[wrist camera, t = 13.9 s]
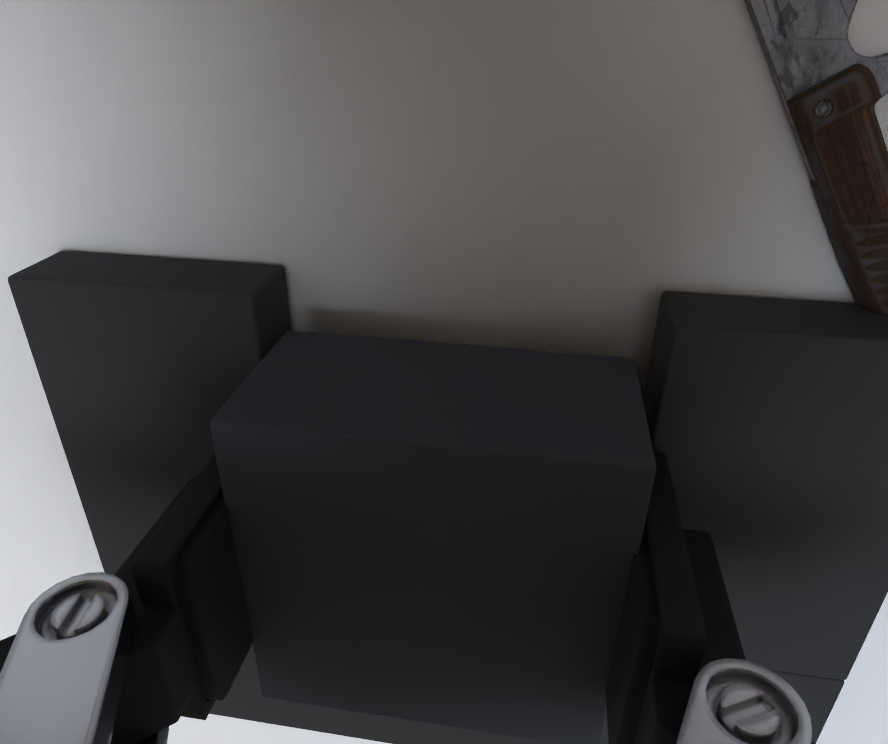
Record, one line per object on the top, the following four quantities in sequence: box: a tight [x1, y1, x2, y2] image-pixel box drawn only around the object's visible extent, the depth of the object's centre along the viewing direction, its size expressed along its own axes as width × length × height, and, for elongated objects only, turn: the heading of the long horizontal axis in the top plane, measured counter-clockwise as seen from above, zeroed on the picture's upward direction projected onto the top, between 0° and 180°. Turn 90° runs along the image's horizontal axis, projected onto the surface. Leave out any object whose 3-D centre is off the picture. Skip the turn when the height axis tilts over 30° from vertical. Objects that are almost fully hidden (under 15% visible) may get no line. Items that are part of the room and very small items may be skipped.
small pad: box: [210, 331, 656, 744], centre depth 11 cm, size 6×6×3 cm
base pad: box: [8, 251, 888, 744], centre depth 14 cm, size 12×16×2 cm
